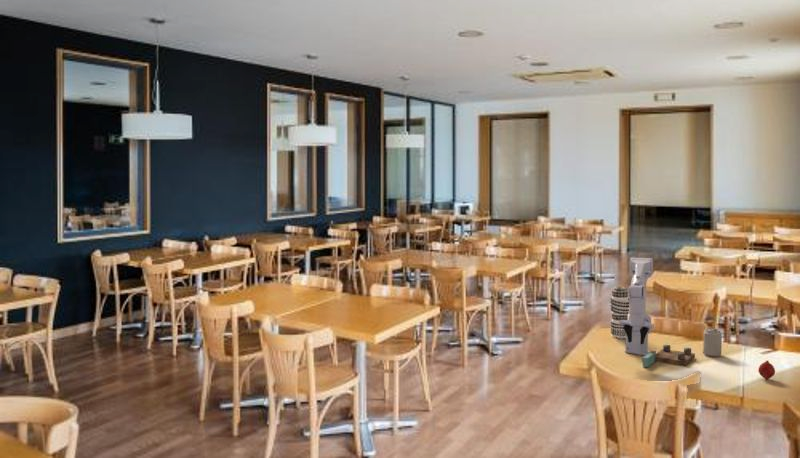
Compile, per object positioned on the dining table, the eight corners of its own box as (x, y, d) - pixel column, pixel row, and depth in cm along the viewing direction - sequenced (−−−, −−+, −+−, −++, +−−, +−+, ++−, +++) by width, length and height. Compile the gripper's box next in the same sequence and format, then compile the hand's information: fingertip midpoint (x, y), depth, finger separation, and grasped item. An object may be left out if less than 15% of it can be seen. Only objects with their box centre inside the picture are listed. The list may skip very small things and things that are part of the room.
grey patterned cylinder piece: (613, 332, 344) (613, 284, 341) (631, 334, 338) (632, 286, 336) (607, 336, 336) (607, 288, 334) (626, 339, 331) (626, 289, 328)
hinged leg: (650, 360, 296) (651, 350, 295) (656, 361, 294) (656, 351, 294) (642, 366, 287) (642, 356, 287) (647, 367, 286) (648, 357, 285)
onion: (755, 377, 270) (755, 358, 269) (768, 376, 271) (769, 357, 270) (764, 382, 264) (764, 362, 263) (777, 381, 265) (778, 362, 264)
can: (723, 357, 297) (723, 331, 296) (705, 357, 299) (705, 331, 297) (718, 352, 304) (719, 327, 303) (701, 352, 306) (701, 326, 305)
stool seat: (652, 360, 296) (652, 350, 295) (662, 353, 306) (663, 343, 306) (685, 366, 287) (685, 355, 286) (694, 358, 298) (695, 348, 297)
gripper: (616, 312, 291) (616, 342, 292) (650, 316, 282) (649, 347, 283) (622, 309, 296) (622, 338, 298) (655, 313, 287) (655, 343, 289)
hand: (636, 342), depth 291 cm, fingers open, 5 cm apart
